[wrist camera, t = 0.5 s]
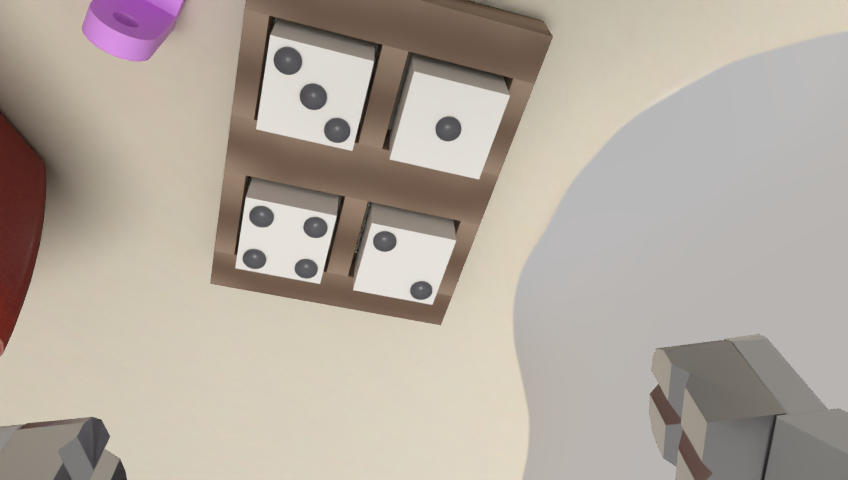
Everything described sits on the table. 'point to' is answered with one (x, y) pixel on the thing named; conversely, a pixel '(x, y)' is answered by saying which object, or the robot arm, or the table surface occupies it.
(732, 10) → the table surface
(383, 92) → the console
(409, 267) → the button two dots
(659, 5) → the table surface
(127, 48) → the bracket
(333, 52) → the button three dots
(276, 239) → the button four dots
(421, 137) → the button one dot
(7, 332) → the plant pot
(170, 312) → the table surface
